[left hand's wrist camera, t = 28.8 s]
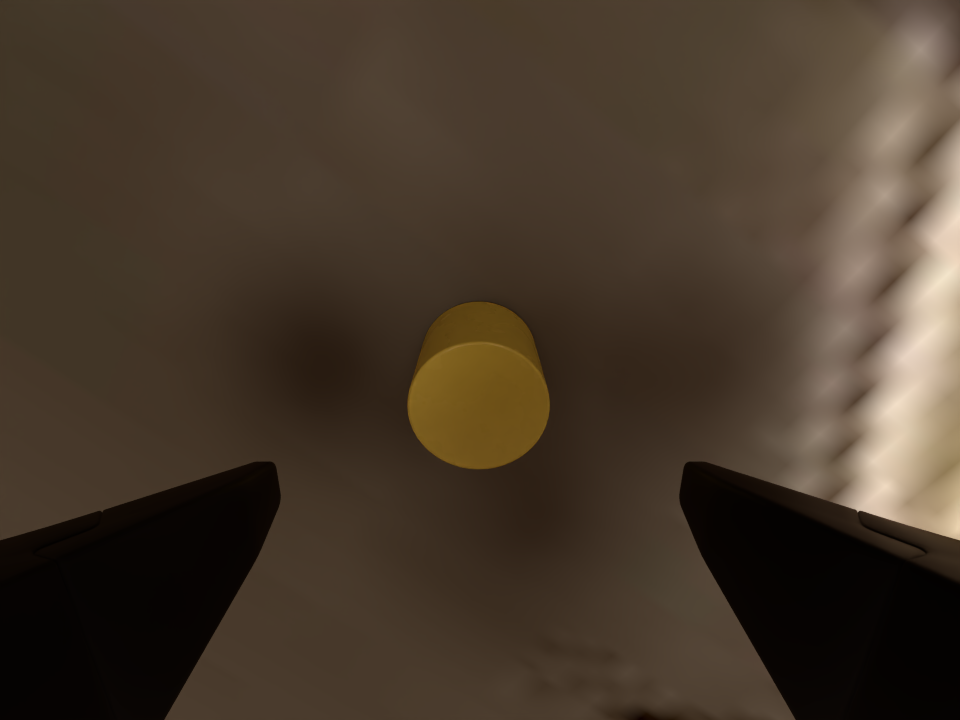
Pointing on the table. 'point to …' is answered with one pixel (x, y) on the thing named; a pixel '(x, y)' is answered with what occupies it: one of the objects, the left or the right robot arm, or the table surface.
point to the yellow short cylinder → (478, 388)
